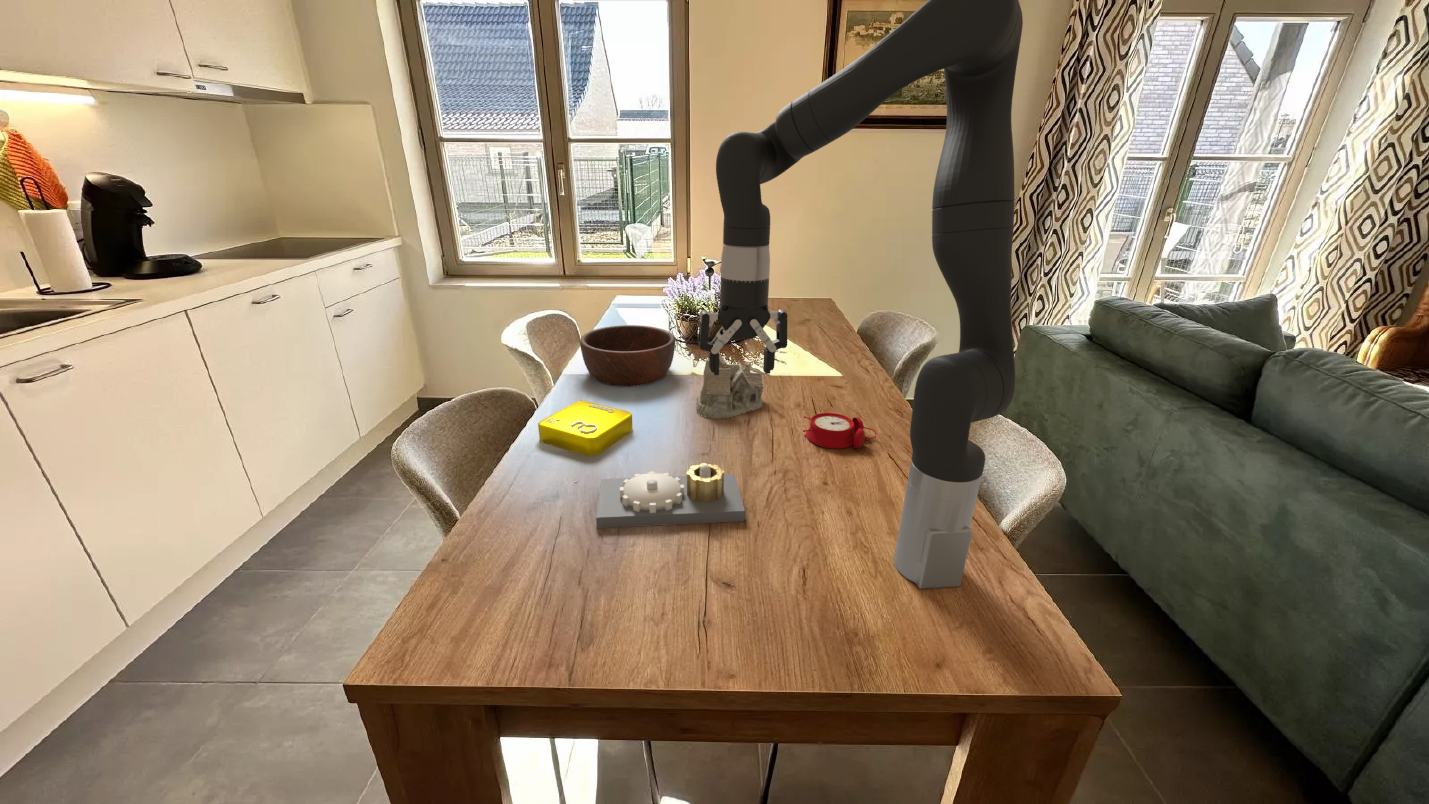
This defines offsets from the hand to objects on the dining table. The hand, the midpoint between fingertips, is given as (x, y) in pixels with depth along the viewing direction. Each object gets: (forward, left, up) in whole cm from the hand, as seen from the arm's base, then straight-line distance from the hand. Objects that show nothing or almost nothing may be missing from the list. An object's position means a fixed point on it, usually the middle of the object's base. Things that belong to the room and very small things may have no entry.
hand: (741, 373), depth 98 cm
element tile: (+25, +28, -23) cm, 44 cm away
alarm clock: (+19, -25, -23) cm, 39 cm away
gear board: (-3, +12, -23) cm, 26 cm away
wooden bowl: (+62, +20, -23) cm, 69 cm away
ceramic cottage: (+38, -4, -23) cm, 45 cm away
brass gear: (-3, +6, -21) cm, 22 cm away
